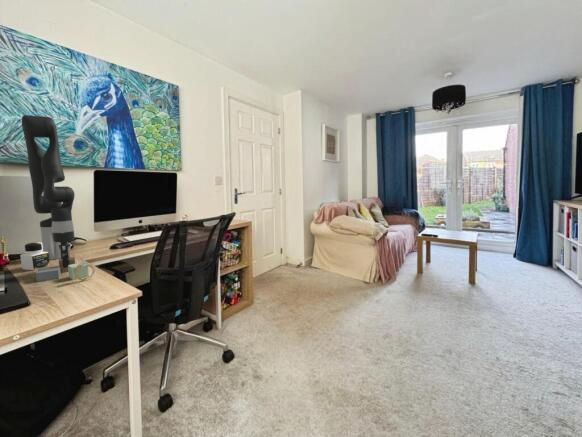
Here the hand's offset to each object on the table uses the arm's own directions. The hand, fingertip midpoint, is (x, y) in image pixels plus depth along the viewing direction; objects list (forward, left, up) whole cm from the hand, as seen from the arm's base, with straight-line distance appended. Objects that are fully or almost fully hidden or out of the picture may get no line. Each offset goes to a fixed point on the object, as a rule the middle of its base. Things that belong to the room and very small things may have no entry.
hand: (66, 265), depth 125 cm
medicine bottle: (-13, -12, -3) cm, 18 cm away
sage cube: (+14, +4, -3) cm, 14 cm away
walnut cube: (0, 0, -3) cm, 3 cm away
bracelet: (+20, +6, -3) cm, 22 cm away
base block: (+8, -6, -3) cm, 10 cm away
